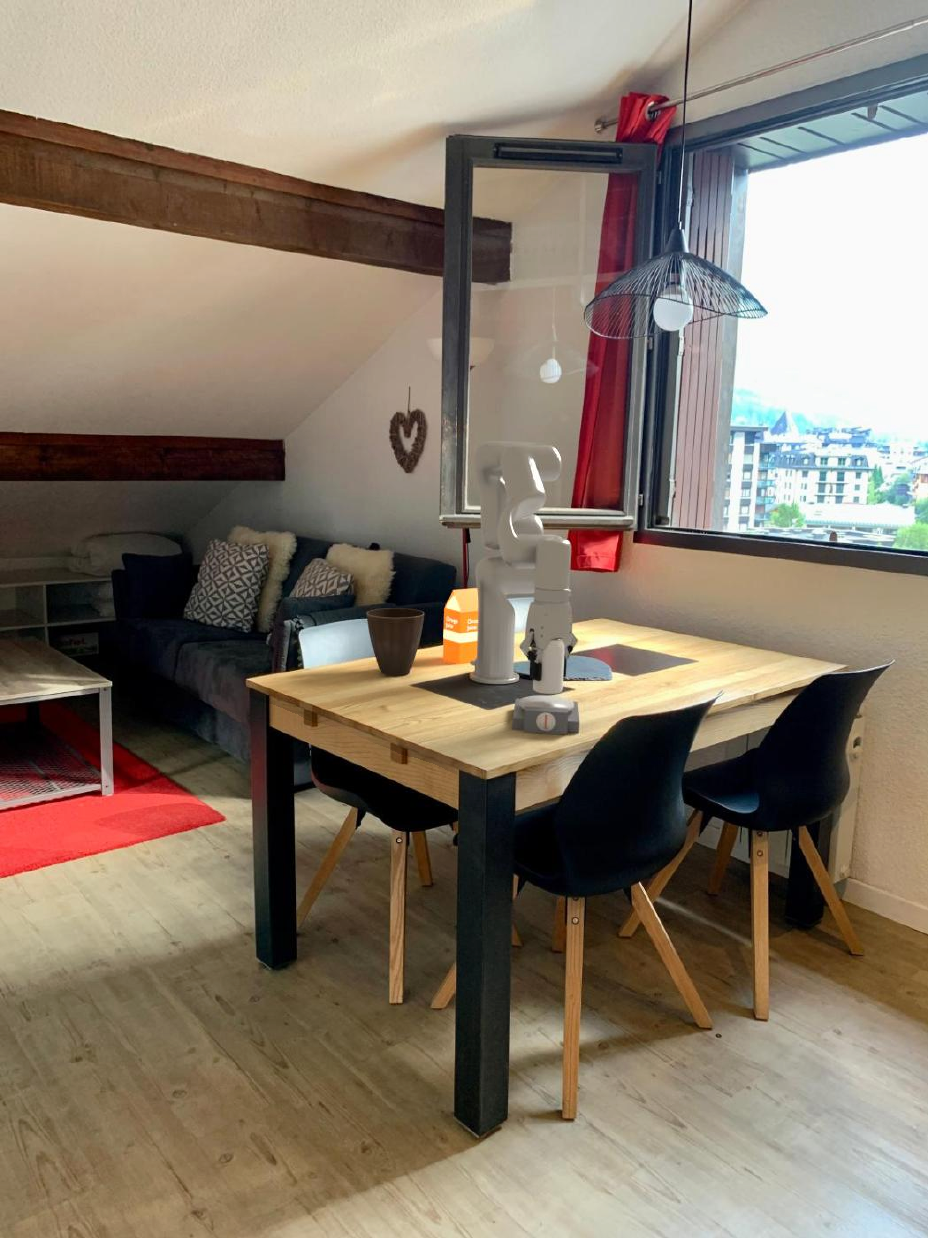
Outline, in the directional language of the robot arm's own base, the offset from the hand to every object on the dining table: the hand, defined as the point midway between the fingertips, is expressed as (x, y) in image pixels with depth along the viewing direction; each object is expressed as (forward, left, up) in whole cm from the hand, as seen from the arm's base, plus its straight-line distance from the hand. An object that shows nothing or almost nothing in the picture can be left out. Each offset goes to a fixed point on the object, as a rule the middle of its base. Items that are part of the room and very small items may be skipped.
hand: (547, 677), depth 206 cm
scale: (+1, -1, -10) cm, 10 cm away
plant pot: (-54, -6, -10) cm, 55 cm away
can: (0, 0, -3) cm, 3 cm away
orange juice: (-58, +19, -10) cm, 61 cm away
